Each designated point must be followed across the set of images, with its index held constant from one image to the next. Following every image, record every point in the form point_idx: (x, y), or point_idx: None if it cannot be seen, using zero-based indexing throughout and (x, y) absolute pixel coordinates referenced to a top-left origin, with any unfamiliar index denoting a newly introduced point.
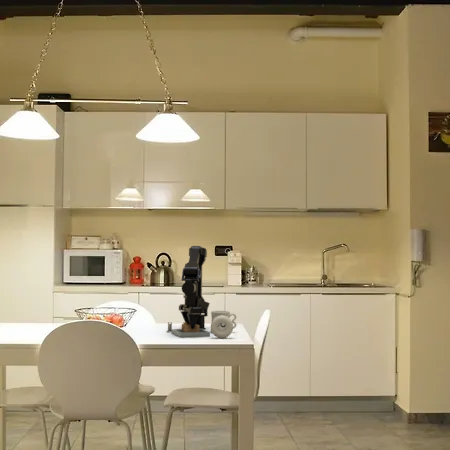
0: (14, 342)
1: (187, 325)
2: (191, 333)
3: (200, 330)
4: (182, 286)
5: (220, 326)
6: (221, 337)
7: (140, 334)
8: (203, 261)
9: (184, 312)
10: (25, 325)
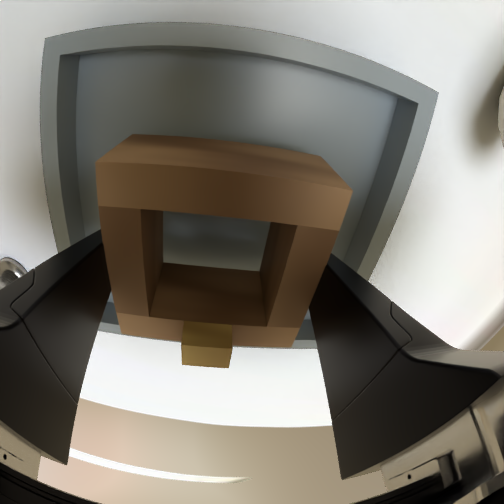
0: (218, 481)
1: (287, 332)
2: (365, 273)
3: (119, 48)
4: None
5: None
6: None
7: (121, 400)
8: None
9: (51, 446)
10: None
